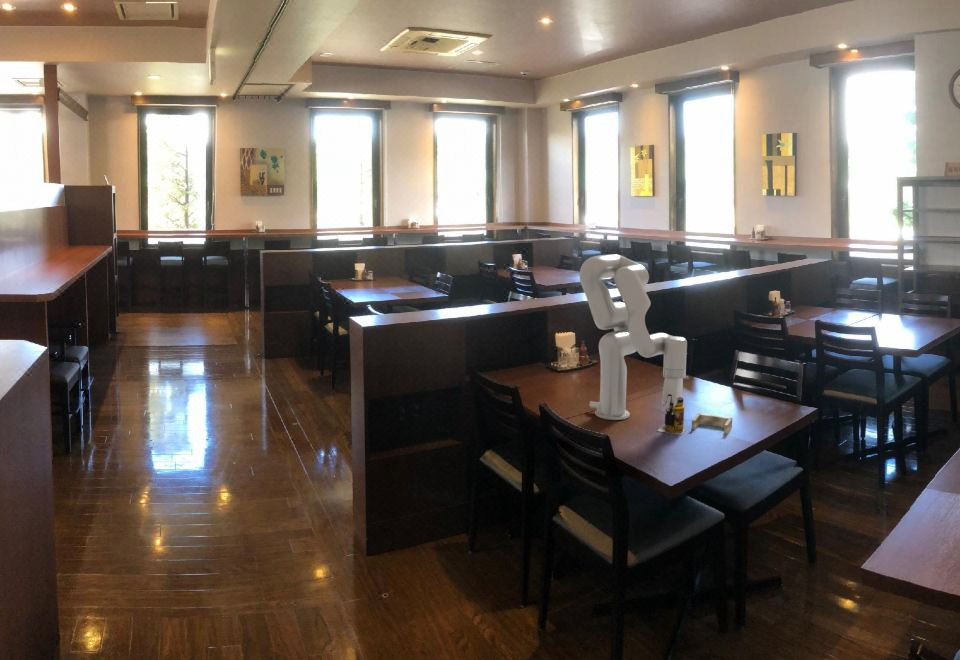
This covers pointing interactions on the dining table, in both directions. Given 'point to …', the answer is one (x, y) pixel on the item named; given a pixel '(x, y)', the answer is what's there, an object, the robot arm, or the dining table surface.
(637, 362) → the dining table surface
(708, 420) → the u rest
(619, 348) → the robot arm
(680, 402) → the condiment
